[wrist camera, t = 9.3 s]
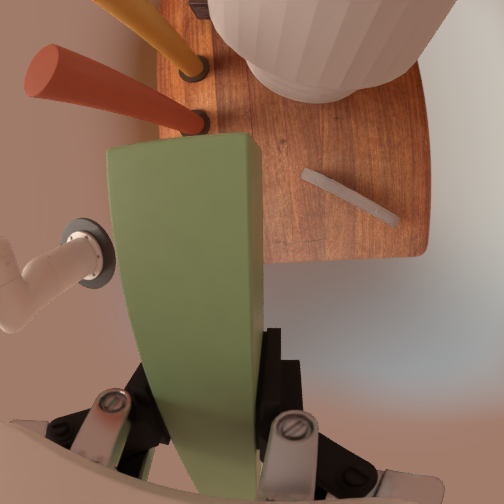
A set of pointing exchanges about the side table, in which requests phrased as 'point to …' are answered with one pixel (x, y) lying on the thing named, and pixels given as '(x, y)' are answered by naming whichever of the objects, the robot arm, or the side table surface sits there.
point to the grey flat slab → (349, 196)
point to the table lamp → (327, 41)
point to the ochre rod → (158, 35)
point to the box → (200, 8)
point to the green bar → (196, 293)
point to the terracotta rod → (106, 91)
